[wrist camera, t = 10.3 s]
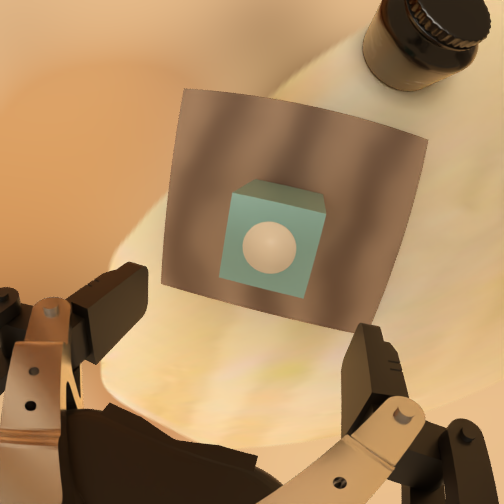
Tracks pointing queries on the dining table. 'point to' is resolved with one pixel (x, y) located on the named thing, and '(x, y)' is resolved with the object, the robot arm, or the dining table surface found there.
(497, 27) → the dining table surface
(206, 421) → the dining table surface
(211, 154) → the brown wooden board
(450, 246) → the dining table surface
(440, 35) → the supplement bottle
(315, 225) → the green cube with circle
